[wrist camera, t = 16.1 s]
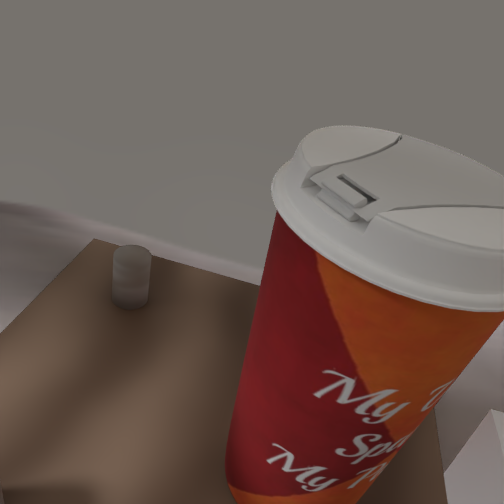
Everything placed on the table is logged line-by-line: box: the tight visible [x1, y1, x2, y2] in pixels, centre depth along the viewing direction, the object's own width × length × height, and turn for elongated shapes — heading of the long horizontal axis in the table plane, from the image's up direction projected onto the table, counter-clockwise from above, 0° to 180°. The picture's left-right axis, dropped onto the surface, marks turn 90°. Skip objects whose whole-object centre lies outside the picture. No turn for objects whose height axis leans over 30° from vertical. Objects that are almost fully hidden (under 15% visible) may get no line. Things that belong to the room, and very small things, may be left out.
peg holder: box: [0, 239, 448, 504], centre depth 21 cm, size 22×22×4 cm
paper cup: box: [225, 126, 504, 504], centre depth 17 cm, size 8×8×14 cm
